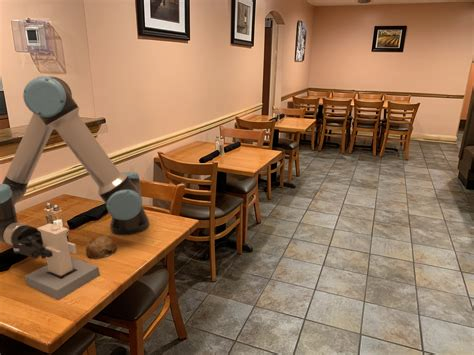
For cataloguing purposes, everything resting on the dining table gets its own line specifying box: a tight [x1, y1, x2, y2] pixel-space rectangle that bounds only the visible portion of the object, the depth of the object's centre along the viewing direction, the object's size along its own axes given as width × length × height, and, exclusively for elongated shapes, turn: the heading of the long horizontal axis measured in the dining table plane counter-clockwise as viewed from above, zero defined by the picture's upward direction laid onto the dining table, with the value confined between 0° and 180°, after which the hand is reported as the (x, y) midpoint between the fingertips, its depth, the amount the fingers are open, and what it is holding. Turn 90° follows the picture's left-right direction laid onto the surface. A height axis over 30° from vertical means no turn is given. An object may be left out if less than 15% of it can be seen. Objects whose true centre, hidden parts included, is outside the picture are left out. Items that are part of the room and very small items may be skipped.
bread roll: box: [85, 234, 118, 259], centre depth 125 cm, size 10×10×8 cm
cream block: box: [36, 222, 73, 277], centre depth 106 cm, size 4×9×15 cm, turn 60°
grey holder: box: [24, 256, 101, 300], centre depth 109 cm, size 14×16×3 cm
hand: (67, 252), depth 104 cm, fingers closed on cream block, 4 cm apart
